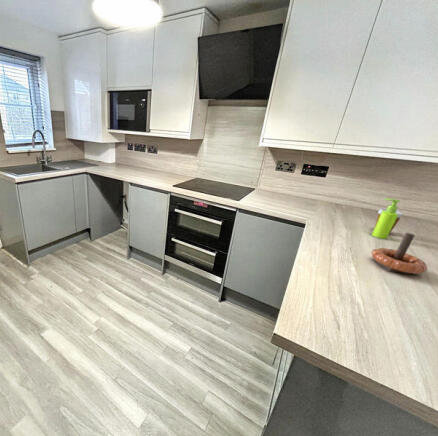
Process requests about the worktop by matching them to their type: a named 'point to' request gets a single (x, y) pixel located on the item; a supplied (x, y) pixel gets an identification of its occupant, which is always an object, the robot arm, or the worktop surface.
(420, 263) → the ring
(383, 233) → the soap dispenser
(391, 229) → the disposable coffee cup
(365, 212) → the worktop surface
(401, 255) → the stand
